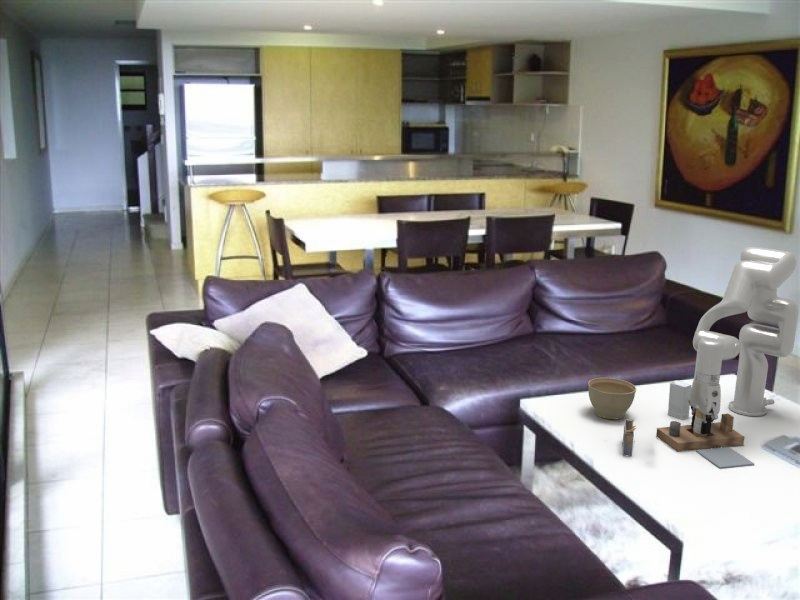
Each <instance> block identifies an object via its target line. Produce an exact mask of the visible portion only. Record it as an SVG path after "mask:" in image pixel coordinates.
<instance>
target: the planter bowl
mask: <svg viewBox="0 0 800 600" xmlns="http://www.w3.org/2000/svg"><path fill="white" fill-rule="evenodd" d="M587 386H588V398H589V401H590V404H591V406H592V408H593V409H594V413H595V415H596V416H598V417H600V418H603V419H607V420H619V419H622V418H623V417H624V415H625V413H626V412H627V411H628V410H629V409H630V407H631V406H632V405H633V403H634V400H635V396H636V392H637V387H636V385H634V384H633V383H631V382H629V381H628V380H627V381H626V380H623V379H620V378H619V379H618V378H615V377H614V378H611V377H597V378H593V379H590V380H589V381H588V384H587Z"/></svg>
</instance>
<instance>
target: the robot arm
mask: <svg viewBox="0 0 800 600" xmlns="http://www.w3.org/2000/svg"><path fill="white" fill-rule="evenodd" d="M796 268H797V258H796V255H795V254H794V253H793V252H790V251H786V250H781V249H780V250H779V249H775V248H774V249H773V248H767V247H761V246H747V247H744V248H743V249H742V250H741V252H740V260H739V261H738V262H736V264H735V265H734V267H733V270H732V272H731V274H730V278H729V281H728V283H727V286H726V289H725V292H724V295H723V297H722V300H721V301H720V302H718V303H717V304H715V305H714V306H712V307H711V308H710V309H708V310H707V311H706V312H705V313H704V314H703V316H702V317H701V318H700V320H699V321H698V325H697V327H696V330H695V332H694V336H693V340H692V345H693V349H694V350H695V351H696V359H695V369H694V376H693V380H692V384H691V385H692V386H691V393H690V400H689V404H690V410H691V424H690V425H691V427H692V428H694V421H695V414H696V408H697V407H696V405H698V407H699V411H701V412H702V413H703V422H702V425H701V434H710V431H711V423H714V422H715V421H716V420H719V414H720V410H721V400H722V399H721V397H722V394H721V392H722V391H721V384H720V379H721V372H722V365H723V363H722V362H723V361H727V360H733V359H735V358H736V357H737V356H738V355H739V356H738V357H739V358H738V365H737V366H738V367H737V374H736V382H735V390H734V396H733V400H731V401H730V402H729V403H728V405H727V406H728V407H727V408H728V409H729V410H730V411H731V412H734V413H736V414H740V415H743V416H748V417H762V416H765V415H766V414H767V411H768V409H767V408H766V406H772V405H775V403H776V402H775V400H774V399H773V398H768V399H767V397H765V391H766V386H767V385H766V384H767V377H768V369H769V364H768V363H769V362H768V359H767V358H766V357H767V356H765V355H768V356H769V355H770V356H771V357H772V356H773V357H778V358H788V357H789V356H790V355H791V354H792V352H793V351H794V350H793V349H794V346H795V340H796V335H797V326H798V320H799V307H798V303H797V302H796V301H794V300H793V299H790V298H787V297H781V296H780V297H779V296H778V295H777V292H778V288H780V286H782V285H783V283H785V282H786V280H788V279H789V278H790V277H791V276H792V274H793V273H794V272H795V270H796ZM746 312H747V313H746ZM743 313H746V314H747V316H748V318H749V319H751V320H753V321H755V322H760V323H764V324H769V325H775V326H777V327H778V328H777V327H774V326H769V325H764V324H758V323H748V324H745V325H743V326H742V327H741V329H740V331H739V335H738V338H739V339H738V338H737V337H736V336H732V335H729V334H724V333H719V332H715V331H710V329H711V328H712V326H713V325H714V324H715V323H716V322H717V321H718V320H721V319H723V318H726V317H730V316H734V315H740V314H743ZM709 411H710V412H709ZM707 415H709V417H708V418H707Z"/></svg>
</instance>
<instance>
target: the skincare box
mask: <svg viewBox="0 0 800 600" xmlns="http://www.w3.org/2000/svg"><path fill="white" fill-rule="evenodd" d="M691 388H692V384H690V383H687V382H684V381H679V380H674V381H672V382H670V383H669V394H668V405H667V406H668V407H667V408H668V410H667V415H668V416H671V417H674V418H676V419H680V420H686V419H688V418H689V417H690V410H691V406H690V404H689V400H690V393H691Z"/></svg>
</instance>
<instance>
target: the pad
mask: <svg viewBox="0 0 800 600" xmlns="http://www.w3.org/2000/svg"><path fill="white" fill-rule="evenodd" d="M695 452H696V453H697V454H699V456H701V457H702V458H704V459H705V460H706V461H708V462H709V463H710V464H712V465H713V466H715V467H717V468H718V469H720V470H722V469H728V468H729V469H730V468H739V467H740V468H741V467H748V466H755V463H754V462H753V461H751V460H750V459H748V458H747V457H745V456H744V455H742V454H740V453H739V452H738V451H737V450H735V449H733V448H732V447H723V448H713V449H703V450H695Z"/></svg>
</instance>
